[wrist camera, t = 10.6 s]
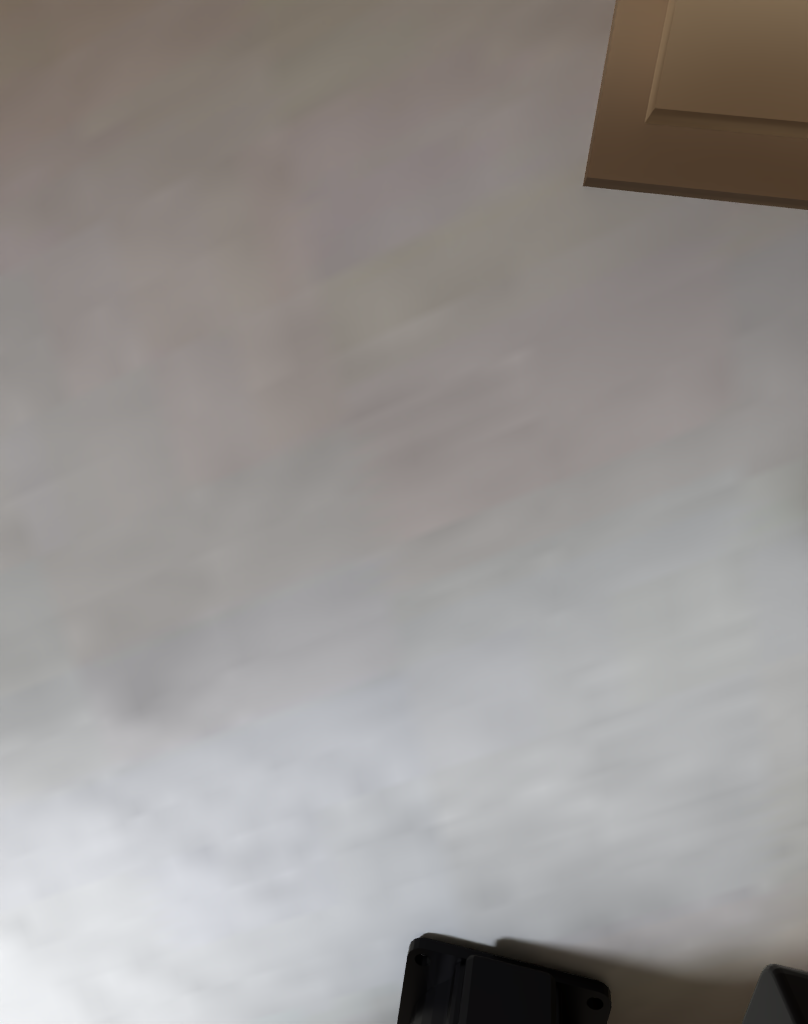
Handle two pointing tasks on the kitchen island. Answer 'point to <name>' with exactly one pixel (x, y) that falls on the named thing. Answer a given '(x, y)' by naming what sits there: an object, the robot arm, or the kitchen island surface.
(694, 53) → the top slab
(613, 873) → the kitchen island surface
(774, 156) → the bottom slab
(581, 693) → the kitchen island surface
